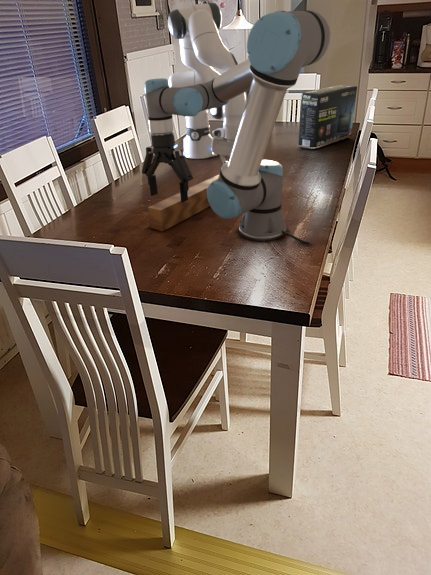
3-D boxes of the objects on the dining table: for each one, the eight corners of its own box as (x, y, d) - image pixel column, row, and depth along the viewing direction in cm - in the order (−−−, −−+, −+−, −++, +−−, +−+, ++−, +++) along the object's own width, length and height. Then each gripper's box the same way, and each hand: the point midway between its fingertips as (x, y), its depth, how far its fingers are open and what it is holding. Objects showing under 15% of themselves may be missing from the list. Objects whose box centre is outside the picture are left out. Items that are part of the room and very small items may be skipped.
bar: (162, 231, 153) (160, 210, 149) (150, 227, 156) (147, 207, 152) (250, 184, 191) (250, 167, 187) (238, 182, 194) (238, 165, 190)
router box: (314, 151, 231) (318, 94, 217) (296, 148, 237) (299, 92, 224) (352, 138, 251) (358, 85, 238) (335, 135, 258) (340, 83, 245)
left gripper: (262, 133, 173) (261, 169, 180) (218, 127, 183) (219, 161, 190) (253, 137, 168) (253, 174, 176) (208, 130, 179) (210, 165, 186)
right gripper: (200, 133, 140) (205, 200, 151) (141, 127, 153) (149, 189, 164) (185, 138, 135) (190, 207, 145) (125, 132, 148) (134, 195, 159)
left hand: (235, 167), depth 183 cm, fingers open, 8 cm apart
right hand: (169, 197), depth 155 cm, fingers open, 13 cm apart
